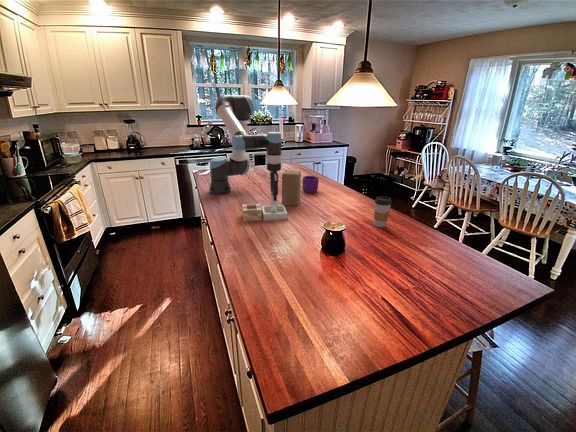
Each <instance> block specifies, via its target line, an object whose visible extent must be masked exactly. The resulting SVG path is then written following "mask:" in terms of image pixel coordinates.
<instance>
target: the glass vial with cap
mask: <svg viewBox="0 0 576 432" xmlns="http://www.w3.org/2000/svg"><path fill="white" fill-rule="evenodd" d="M271 194H273V190H271V189H270V205H271V213H277V206H272V195H271Z"/></svg>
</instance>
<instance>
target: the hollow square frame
mask: <svg viewBox="0 0 576 432" xmlns="http://www.w3.org/2000/svg"><path fill="white" fill-rule="evenodd" d="M241 206H242V207H241V208H242V221H243V222H249V221H250V222H251V221H252V220H254V221H255V222H256V221H262V220H263V216H262V205H261V203H243V204H242V205H241ZM252 222H253V221H252Z"/></svg>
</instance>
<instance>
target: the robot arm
mask: <svg viewBox="0 0 576 432" xmlns="http://www.w3.org/2000/svg"><path fill="white" fill-rule="evenodd" d="M214 110H215V114H216V116H217V117H218V119H220V120H221V121H222V122H223V124H224V126H225V127H226V129H227V130H228V132H229V134H230V136H231V140H230V141H231V146H232V152H231V154H230V155H229V158H227V157H225V156H219V157H214V158H212V159H210V161H209V173H210V183H209V184H210V185H209V193H210V194H211V195H227V194H230V193H232V186H231V184H230V181H229V177H230V176H231V177H233V176H242V175H247V174H248V172H249V171H250V160H249V158H248V156H247V155H246V151H247V150H249V151H250V150H260V149H261V150H263V149H265V150H266V156H265V158H266V169H267V171H269V177H270V181H269V182H270V191H271V190H273V194H271V193H270V196H271V195H272V206H277V205H278V196H279V174H278V172H279V171H281V170H282V140H283V139H282V133H281V132H279V131H268V132H267V133H264V132H263V133H262V132H261V133H258V134H248V133H247V130H248V122H249V121H250V120H251V116H253V115H254V114H255V104H254V101H253V98H252V97H251V96H249V95H244V94H242V95H241V94H240V95H239V94H238V95H237V94H235V95H234V94H233V95H232V94H226V95H223V96H220V98H218V99H217V101H216V103H215V106H214Z"/></svg>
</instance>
